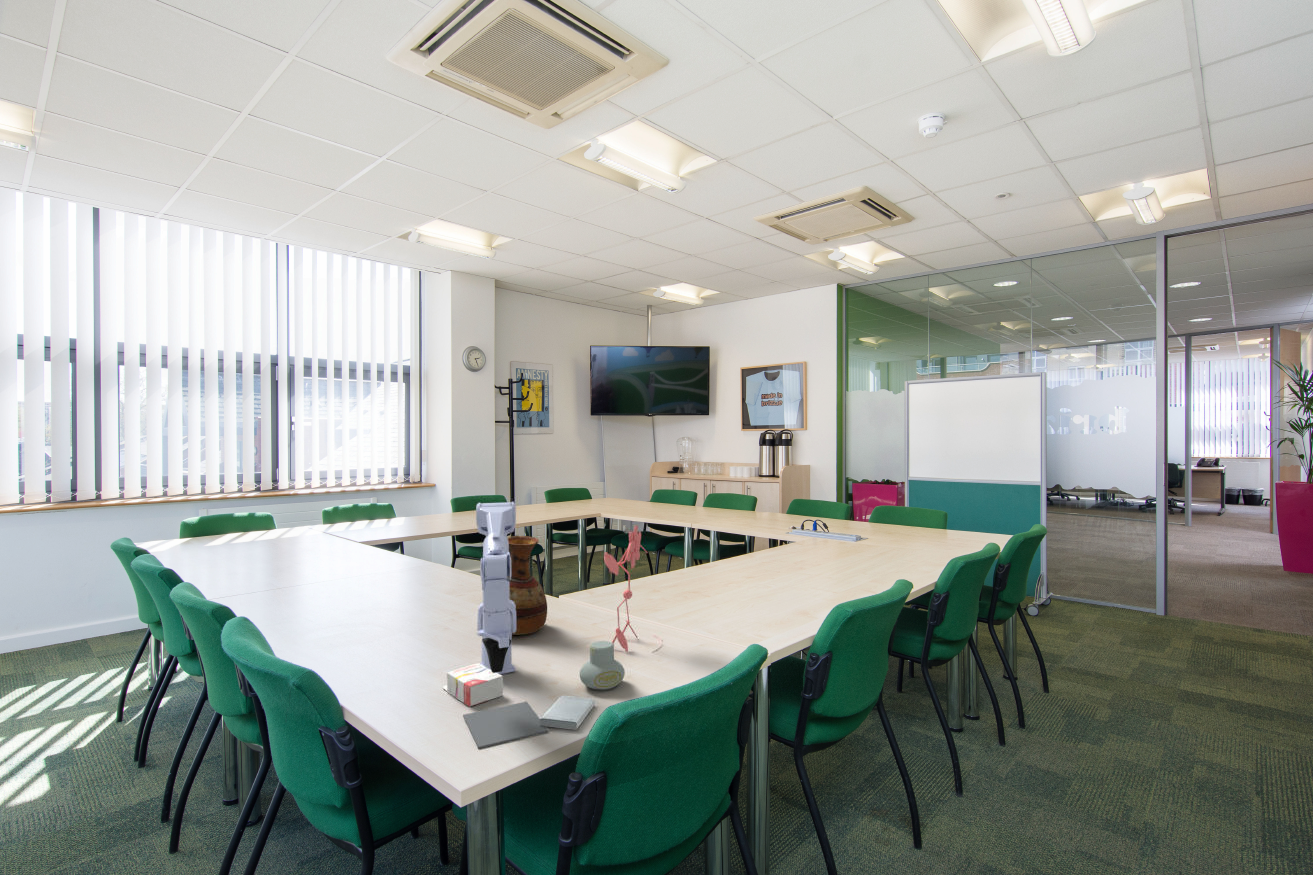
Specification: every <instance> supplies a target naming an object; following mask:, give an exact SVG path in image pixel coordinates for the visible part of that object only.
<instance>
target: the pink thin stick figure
mask: <svg viewBox="0 0 1313 875" xmlns="http://www.w3.org/2000/svg"><path fill="white" fill-rule="evenodd" d="M641 540H642V532H641V531H639V528H638V525H637V524H636V525H634V527H633V531H630V532H629V533H628V541H629V542H628V547H627V548H626V550H625V552H624V554H622V557H621V558H620V560H619V561H618V562H617V560H616V558H615V557H614V556H613V555H612V554H609V553H608V552H606V551H605V552H604V556H603V559H604V564H605V566H606V567H607V568H608V571H609V574H612V573H613V574H614V575H616V576H618V575H619V570H620V568H622V570H623V571H624V572H626V574H627V578H628V582H627V583H628V584H627V585H628V589H625V590H624V591H623V593H622V596H623V598H624V599H623V601H621V603H619V605H618V606H617V610H616V611H617V626H618V627H617V628H615V636H614V638H613V639H612V641H611V642H612V643H613V644H614V645H615V641H616V640H617V641H618V643H619V644H620V646H621V647H622V648H623V650H624V651H625V652H627V653H628V652H629V646H628V640H627V639H626V636H625V634H624V633H625V632H626V630H627V628H628V626H629V628H630V630H631V632H632V633H633V634H634V636H635V637H636V639H638V636H637V634H636V632H635V630H634V629H633V627H632V626H631V622H630V616H629V609H628V608H629V606H628V600H630V599H631V598H632V597H633V591H631V574H630V572H629V571H628V570H627V568H625V567H624V565H623V564H625V563H626V561H627V563H629V562H630V568H631V569H632V570H633V569H634V568H635V566H636V561H639V560H640V558H641V555H640V553H641V552H640V550H641V549H640V548H642V549H643V550H644V552H645V553H646V554H648V551H647V550H646V549H645V548H644V547H643V545H641ZM619 566H620V568H619ZM623 603H625V606H626V612H627V619H625V621H626V624H625V626H624V627H623V630H621V628H620V614H619V611H620V610H619V608H620V607H621V606H622V605H623ZM654 638H657V639H658V640H660V638H659V637H657V636H656V635H654ZM660 641H661V643H663V639H662V640H660ZM661 648H662V646H661V647H659V648H658V649H655V650H653V651H652V653H654V652H656V651H658V650H659V649H661Z"/></svg>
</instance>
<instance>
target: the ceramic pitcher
mask: <svg viewBox="0 0 1313 875" xmlns="http://www.w3.org/2000/svg"><path fill="white" fill-rule="evenodd" d="M507 539H508V542H509V552H510V557H511V579H510V577H509V576H507V578H508V579H509V599H510V600H512V601H513V602H514V604H515V605H516V631H515V633H512V635H515V636H516V635H517V636H521V634H522V635H527V634H533V633H535V632H537V631H539V630H541V629H542V628H543V627H544V626H545V624H546V621H547V617H548V602H547V598H546V597H547V596H546V594H545V590H544V589H543V587H542V585H541V583H540V582H539V581H538V579H536V578H535V577H534V576H533V575H531V574H530V573H531V572H530V566H529V565H530V558H531V553H532V550H533V549H534V548H535V546H537V544H538V543H539V542H540V541H539V539H537V538H536V537H533V536H528V535H525V536H524V535H513V536H512V535H511V536H510V537H507Z"/></svg>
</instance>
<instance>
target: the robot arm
mask: <svg viewBox="0 0 1313 875" xmlns="http://www.w3.org/2000/svg"><path fill="white" fill-rule="evenodd" d="M475 507H476V508H475V511H476V513H475V514H476V515H475V517H476V518H475V521H476V527H477V529H476V530H477V531H478V533H479V534H481V535H483V536H485V538H484V540H483V546H482V550H483V551H482V557H481V558H480V567H479V568H480V580H481V581H480V582H481V591H482V602H481V603H480V604H479V605H478V609H477V633H476V634H477V635H478V637H482V638H481V663H480V662H478V663H479V664H481V665H483V666H485V667H487V668H489V669H490V670H491V671H492V673H498V674H500V675H505V674H508V673H515V672H517V668H516V667H515V666H514V665H513V663H512V657H513V656H512V654H513V652H512V636H513V634H512V633H515V631H516V605H515V604H514V602H513V601H512V600H510V599H509V579H508V578H507V576H509V577H510V579H511V557H510V552H509V542H508V539H507V538H508V534H511V533H513V532H515V529H516V523H517V518H516V517H517V510H516V509H517V508H516V503H515V501H511V502H485V503H481V502H478V503H477V504H476V506H475Z"/></svg>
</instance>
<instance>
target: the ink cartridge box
mask: <svg viewBox="0 0 1313 875" xmlns="http://www.w3.org/2000/svg"><path fill="white" fill-rule="evenodd" d="M479 663H480V662H476V663H473V664H469V665H467V666H463V667H460V668H457V669H454V670H451V671H448V672H446V679H447V680H446V685H443V686H442V689H444V690H445V691H446V692H447V693H448V694H449V695H451V696H452V697H454V698H456V699H457V700H459V701H460V702H462V703H464V704H465V705H466V706H468V707H473V706H476V705H479V704H482V703H485V702H488V701H491V700H494V699H497V698H499V697H502V696H503V694H504V693H503V692H504V691H503V690H504V688H503V686H504V684H503V682H504V681H503V680H504V678H503V674H498V673H492V671H491V670H490V669H489V668H487V667H485V666H483V665H481V664H479Z"/></svg>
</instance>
